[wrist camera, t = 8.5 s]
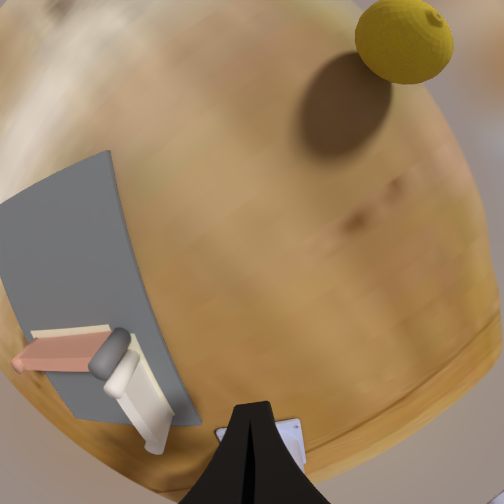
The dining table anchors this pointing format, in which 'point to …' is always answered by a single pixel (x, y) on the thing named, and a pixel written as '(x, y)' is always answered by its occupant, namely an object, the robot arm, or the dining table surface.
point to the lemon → (404, 41)
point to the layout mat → (90, 297)
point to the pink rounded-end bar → (75, 353)
